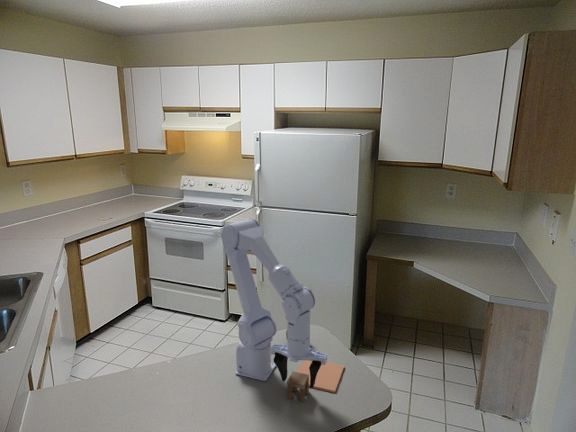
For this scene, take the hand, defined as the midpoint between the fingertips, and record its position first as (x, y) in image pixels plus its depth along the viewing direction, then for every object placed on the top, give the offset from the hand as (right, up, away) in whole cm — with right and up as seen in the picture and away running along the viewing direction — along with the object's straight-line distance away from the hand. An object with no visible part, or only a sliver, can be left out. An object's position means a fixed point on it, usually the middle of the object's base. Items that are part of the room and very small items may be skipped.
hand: (298, 382), depth 104 cm
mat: (+6, -2, +9) cm, 11 cm away
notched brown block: (0, -4, +1) cm, 4 cm away
